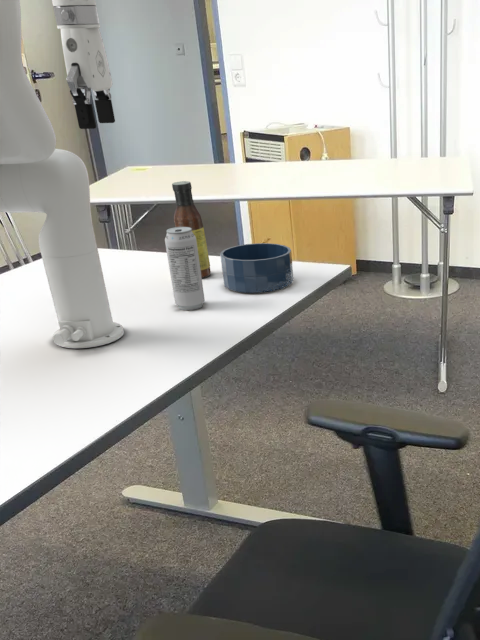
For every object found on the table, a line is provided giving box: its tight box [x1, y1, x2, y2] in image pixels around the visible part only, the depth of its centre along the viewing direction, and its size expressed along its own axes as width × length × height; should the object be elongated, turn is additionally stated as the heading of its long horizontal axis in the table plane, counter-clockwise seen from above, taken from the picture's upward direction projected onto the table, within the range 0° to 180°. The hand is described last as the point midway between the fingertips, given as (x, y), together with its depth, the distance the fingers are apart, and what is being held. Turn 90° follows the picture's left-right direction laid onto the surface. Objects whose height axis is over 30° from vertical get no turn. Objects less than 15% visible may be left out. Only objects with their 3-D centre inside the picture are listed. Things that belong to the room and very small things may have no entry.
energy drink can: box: [164, 227, 206, 311], centre depth 153 cm, size 6×6×15 cm
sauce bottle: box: [171, 180, 212, 279], centre depth 171 cm, size 7×6×20 cm
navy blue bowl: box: [219, 242, 294, 294], centre depth 167 cm, size 15×15×7 cm
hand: (97, 125), depth 148 cm, fingers open, 9 cm apart
